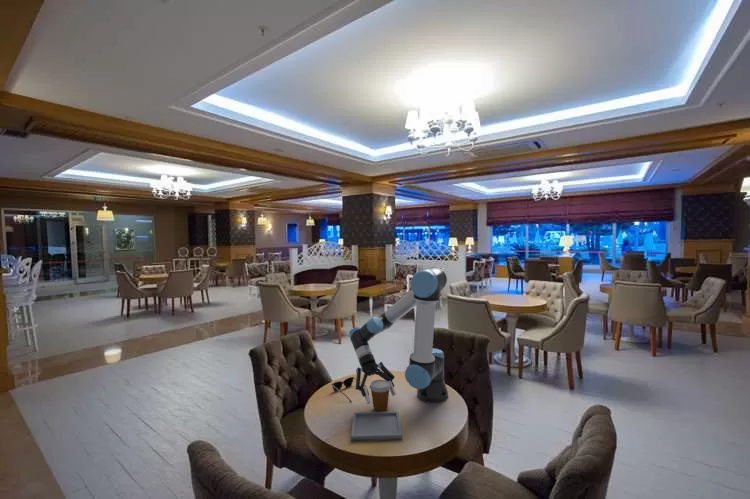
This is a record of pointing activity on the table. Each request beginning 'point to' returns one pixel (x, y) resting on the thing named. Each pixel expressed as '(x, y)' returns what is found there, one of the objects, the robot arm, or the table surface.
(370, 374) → the robot arm
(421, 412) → the table surface
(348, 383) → the sunglasses
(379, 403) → the disposable coffee cup
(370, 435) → the serving tray
